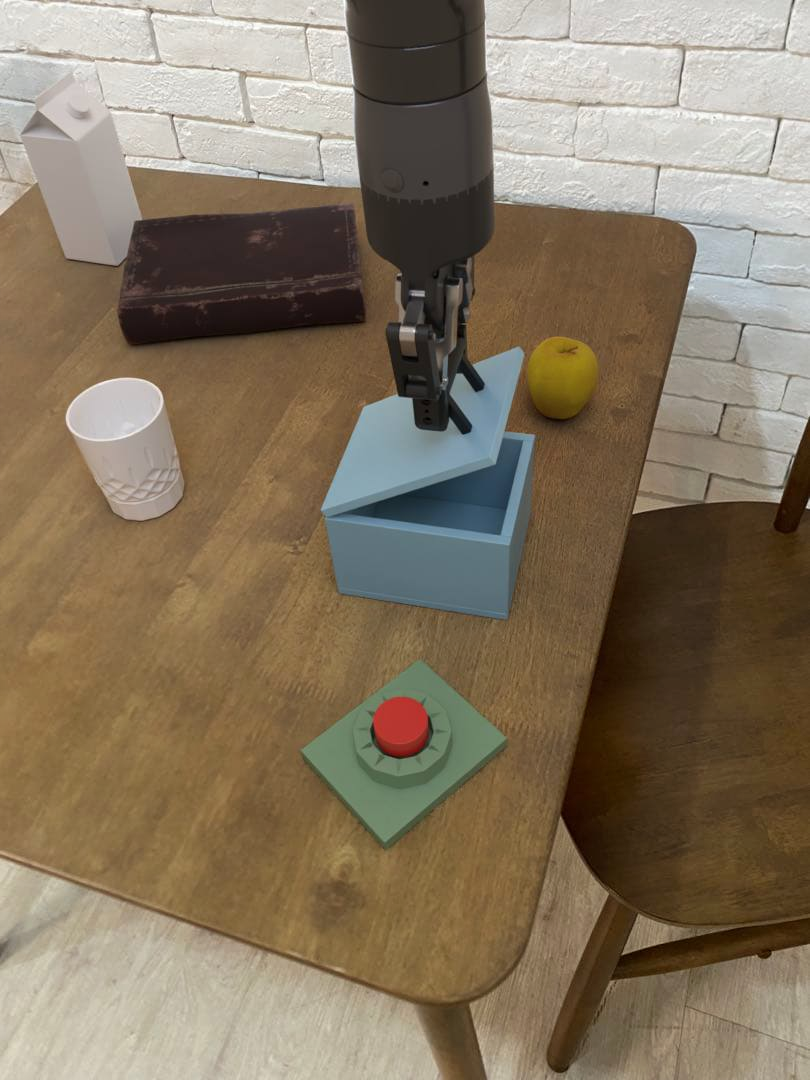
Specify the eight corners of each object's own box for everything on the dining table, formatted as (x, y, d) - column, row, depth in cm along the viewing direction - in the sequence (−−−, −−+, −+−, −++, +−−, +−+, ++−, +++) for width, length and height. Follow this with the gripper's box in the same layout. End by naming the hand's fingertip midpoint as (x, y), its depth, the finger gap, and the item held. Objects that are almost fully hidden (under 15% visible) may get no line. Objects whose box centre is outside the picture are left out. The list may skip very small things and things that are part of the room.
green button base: (420, 667, 69) (418, 643, 67) (507, 746, 65) (508, 724, 62) (302, 758, 65) (295, 736, 63) (385, 850, 60) (382, 830, 58)
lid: (524, 354, 67) (485, 293, 64) (495, 464, 60) (449, 401, 57) (369, 413, 75) (327, 362, 72) (326, 517, 68) (278, 465, 65)
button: (404, 700, 65) (403, 686, 63) (439, 734, 63) (439, 720, 61) (364, 732, 63) (361, 718, 62) (399, 767, 61) (397, 754, 60)
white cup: (134, 455, 87) (102, 369, 80) (207, 474, 85) (181, 388, 77) (85, 514, 82) (45, 428, 75) (160, 536, 80) (127, 450, 72)
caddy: (530, 512, 79) (535, 434, 73) (507, 620, 72) (509, 545, 65) (376, 491, 82) (366, 414, 75) (338, 593, 75) (323, 518, 68)
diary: (366, 327, 98) (362, 285, 94) (128, 352, 98) (114, 311, 94) (357, 234, 110) (353, 194, 107) (146, 255, 110) (134, 216, 106)
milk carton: (65, 260, 111) (4, 96, 97) (97, 229, 115) (43, 68, 101) (117, 267, 109) (63, 102, 95) (147, 235, 113) (100, 73, 99)
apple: (591, 435, 85) (600, 365, 79) (521, 429, 86) (524, 359, 80) (596, 390, 89) (604, 320, 83) (529, 385, 90) (532, 315, 84)
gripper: (466, 232, 46) (476, 476, 59) (514, 104, 56) (514, 339, 68) (322, 224, 48) (362, 463, 61) (392, 101, 57) (414, 331, 70)
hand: (442, 396), depth 64 cm, fingers closed on lid, 5 cm apart
